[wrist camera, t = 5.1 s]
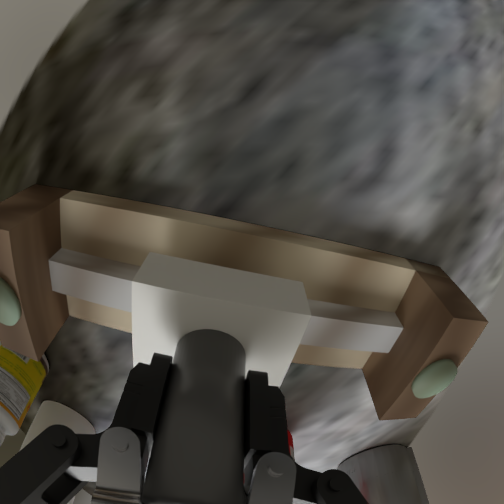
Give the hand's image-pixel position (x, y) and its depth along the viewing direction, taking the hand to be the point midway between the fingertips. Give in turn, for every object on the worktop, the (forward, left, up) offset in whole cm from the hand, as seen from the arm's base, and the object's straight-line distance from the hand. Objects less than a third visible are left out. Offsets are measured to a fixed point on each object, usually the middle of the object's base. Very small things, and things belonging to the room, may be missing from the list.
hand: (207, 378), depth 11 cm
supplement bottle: (+16, +12, -7) cm, 22 cm away
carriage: (0, 0, -4) cm, 4 cm away
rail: (-1, 0, -7) cm, 7 cm away
